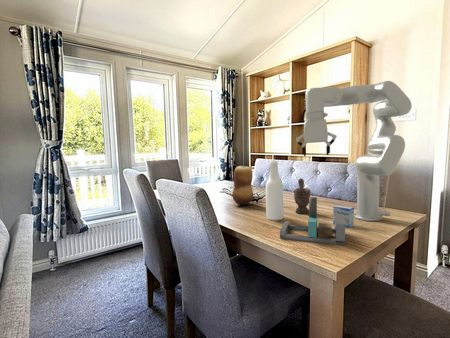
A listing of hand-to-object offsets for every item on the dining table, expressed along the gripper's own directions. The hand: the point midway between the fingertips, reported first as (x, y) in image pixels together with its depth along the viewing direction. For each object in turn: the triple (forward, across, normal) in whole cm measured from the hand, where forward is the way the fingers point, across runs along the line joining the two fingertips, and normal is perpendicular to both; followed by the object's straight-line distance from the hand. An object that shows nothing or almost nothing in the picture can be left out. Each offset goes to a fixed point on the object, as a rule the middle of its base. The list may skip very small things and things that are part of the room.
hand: (316, 155), depth 112 cm
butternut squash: (+32, +45, -31) cm, 64 cm away
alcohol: (+32, +21, -7) cm, 39 cm away
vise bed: (+32, +3, +14) cm, 35 cm away
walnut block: (+33, -2, +14) cm, 36 cm away
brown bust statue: (+33, +8, -19) cm, 39 cm away
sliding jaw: (+31, +2, +14) cm, 34 cm away
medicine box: (+33, -11, -4) cm, 35 cm away
